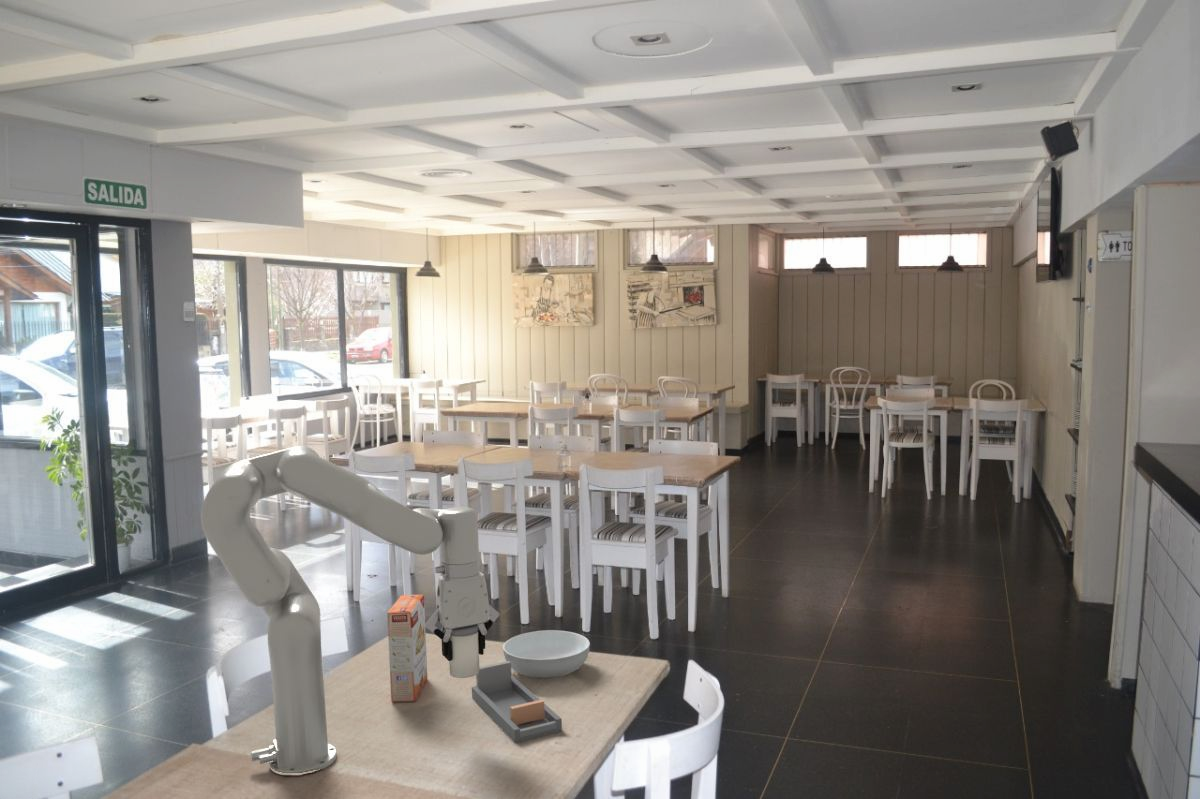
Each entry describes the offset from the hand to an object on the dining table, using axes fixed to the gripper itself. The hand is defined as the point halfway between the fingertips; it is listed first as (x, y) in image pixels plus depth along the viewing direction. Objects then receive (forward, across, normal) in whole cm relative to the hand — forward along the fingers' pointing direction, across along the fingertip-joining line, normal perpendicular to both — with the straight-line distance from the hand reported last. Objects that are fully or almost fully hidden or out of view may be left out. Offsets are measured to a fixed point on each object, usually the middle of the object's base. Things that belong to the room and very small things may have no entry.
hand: (464, 655), depth 191 cm
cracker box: (+17, -4, +30) cm, 35 cm away
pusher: (+16, +12, 0) cm, 20 cm away
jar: (+4, 0, 0) cm, 4 cm away
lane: (+17, +12, +5) cm, 22 cm away
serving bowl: (+17, +28, +24) cm, 41 cm away
